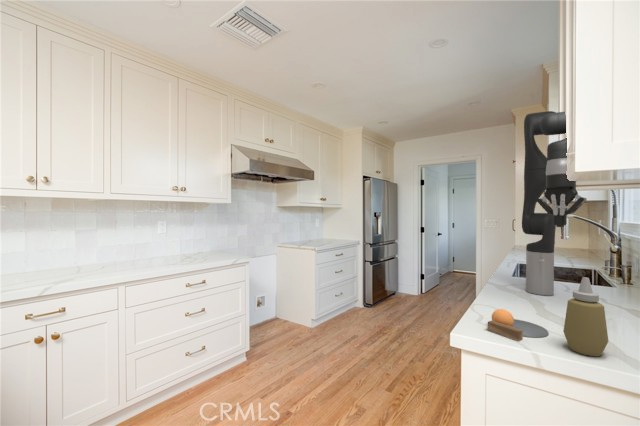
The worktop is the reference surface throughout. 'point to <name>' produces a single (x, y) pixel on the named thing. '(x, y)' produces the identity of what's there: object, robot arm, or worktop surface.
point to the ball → (503, 317)
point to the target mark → (530, 329)
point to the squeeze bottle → (586, 321)
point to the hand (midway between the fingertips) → (560, 226)
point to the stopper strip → (505, 330)
